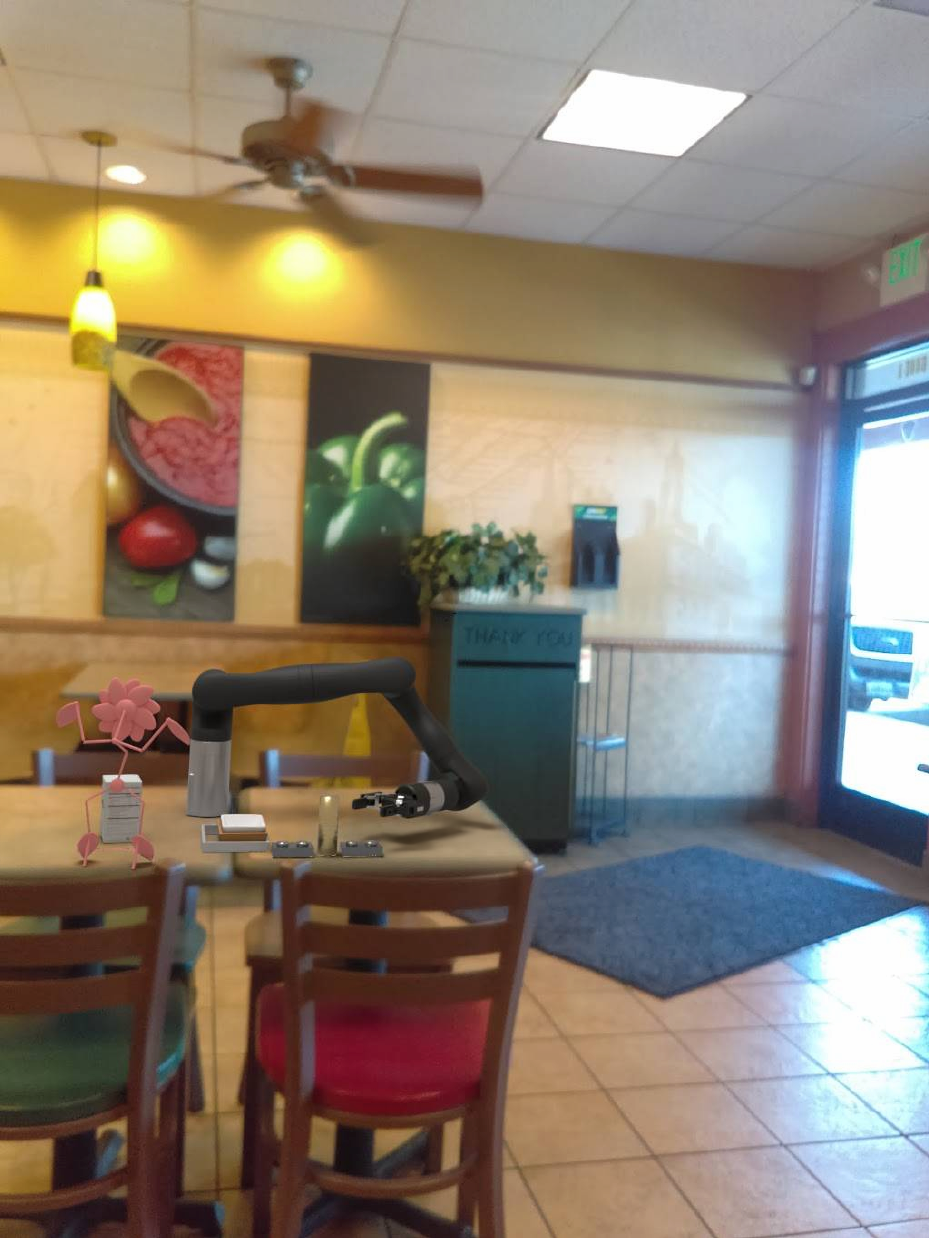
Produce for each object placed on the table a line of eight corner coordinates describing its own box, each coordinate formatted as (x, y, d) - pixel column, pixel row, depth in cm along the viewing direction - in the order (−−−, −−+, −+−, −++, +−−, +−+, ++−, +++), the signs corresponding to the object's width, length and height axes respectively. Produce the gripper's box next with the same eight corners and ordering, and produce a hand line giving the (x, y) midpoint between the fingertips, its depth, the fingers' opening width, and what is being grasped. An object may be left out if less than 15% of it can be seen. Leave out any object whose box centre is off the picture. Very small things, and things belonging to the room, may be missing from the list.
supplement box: (99, 834, 221) (102, 774, 221) (136, 833, 224) (139, 773, 223) (102, 843, 214) (105, 781, 214) (140, 842, 217) (143, 780, 217)
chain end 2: (342, 857, 215) (343, 844, 215) (339, 851, 219) (340, 838, 219) (382, 856, 217) (382, 844, 217) (378, 851, 221) (378, 838, 221)
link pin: (318, 857, 214) (321, 797, 213) (315, 851, 218) (318, 793, 217) (337, 856, 215) (341, 798, 214) (335, 851, 219) (338, 793, 218)
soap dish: (267, 851, 217) (268, 826, 217) (218, 851, 214) (219, 826, 214) (263, 836, 229) (264, 812, 229) (216, 836, 226) (217, 812, 226)
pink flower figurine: (177, 873, 196) (187, 684, 196) (37, 866, 196) (46, 676, 196) (197, 853, 212) (206, 678, 211) (67, 847, 211) (76, 671, 211)
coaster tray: (202, 852, 212) (202, 842, 212) (201, 833, 227) (201, 824, 227) (269, 851, 215) (269, 842, 215) (263, 833, 230) (264, 824, 230)
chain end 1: (272, 857, 211) (273, 844, 211) (271, 852, 215) (271, 839, 215) (313, 857, 213) (313, 844, 213) (310, 851, 217) (311, 839, 217)
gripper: (397, 777, 241) (344, 785, 228) (444, 787, 232) (392, 796, 219) (395, 809, 241) (343, 819, 229) (442, 821, 232) (390, 832, 220)
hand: (367, 808), depth 224 cm, fingers open, 8 cm apart
